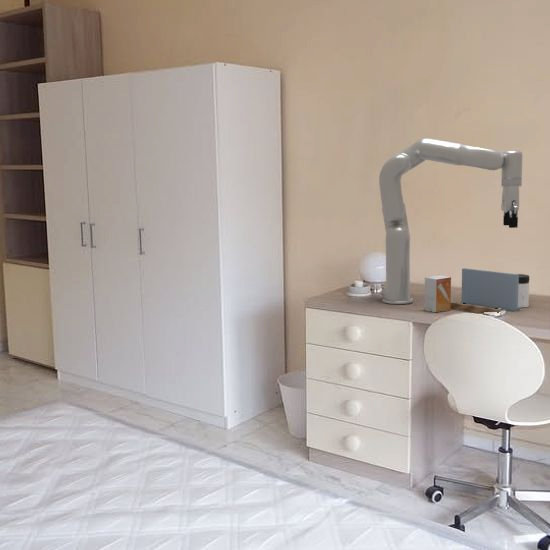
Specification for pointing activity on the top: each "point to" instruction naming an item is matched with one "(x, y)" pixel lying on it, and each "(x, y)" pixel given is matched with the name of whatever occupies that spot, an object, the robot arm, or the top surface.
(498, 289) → the wall board
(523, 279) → the jar
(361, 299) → the top surface
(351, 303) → the top surface
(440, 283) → the small box
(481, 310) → the cleat ledge
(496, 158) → the robot arm
